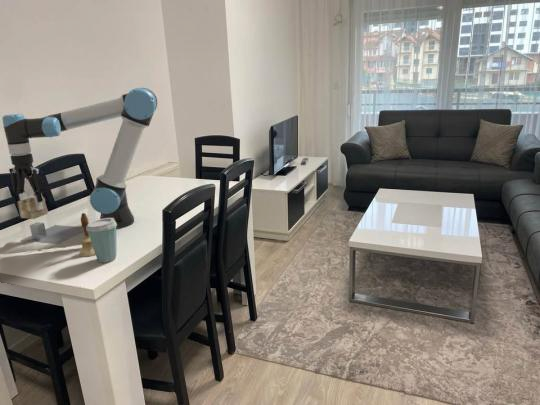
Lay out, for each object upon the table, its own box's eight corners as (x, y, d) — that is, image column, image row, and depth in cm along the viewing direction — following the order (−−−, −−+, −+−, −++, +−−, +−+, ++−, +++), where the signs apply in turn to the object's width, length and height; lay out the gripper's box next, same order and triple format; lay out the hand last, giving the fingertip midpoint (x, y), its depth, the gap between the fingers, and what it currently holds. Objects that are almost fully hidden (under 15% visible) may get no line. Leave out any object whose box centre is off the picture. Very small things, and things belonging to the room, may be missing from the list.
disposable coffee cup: (90, 267, 152) (83, 227, 147) (93, 255, 162) (86, 218, 157) (121, 262, 154) (115, 223, 150) (122, 251, 164) (116, 214, 160)
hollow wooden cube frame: (47, 213, 178) (44, 196, 175) (34, 219, 171) (30, 201, 169) (34, 212, 180) (31, 196, 178) (20, 217, 173) (17, 200, 171)
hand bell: (75, 253, 165) (68, 214, 161) (96, 246, 171) (89, 208, 166) (84, 258, 159) (76, 218, 155) (105, 251, 165) (98, 213, 160)
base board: (91, 230, 189) (90, 227, 188) (58, 247, 172) (58, 244, 171) (55, 228, 195) (55, 225, 195) (21, 243, 178) (20, 240, 177)
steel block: (47, 240, 180) (44, 222, 178) (40, 243, 177) (36, 225, 174) (40, 239, 181) (37, 222, 179) (33, 243, 178) (29, 225, 175)
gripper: (48, 152, 168) (59, 207, 175) (10, 151, 174) (22, 205, 181) (32, 156, 161) (44, 213, 168) (-7, 155, 168) (6, 210, 174)
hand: (32, 208), depth 175 cm, fingers closed on hollow wooden cube frame, 7 cm apart
